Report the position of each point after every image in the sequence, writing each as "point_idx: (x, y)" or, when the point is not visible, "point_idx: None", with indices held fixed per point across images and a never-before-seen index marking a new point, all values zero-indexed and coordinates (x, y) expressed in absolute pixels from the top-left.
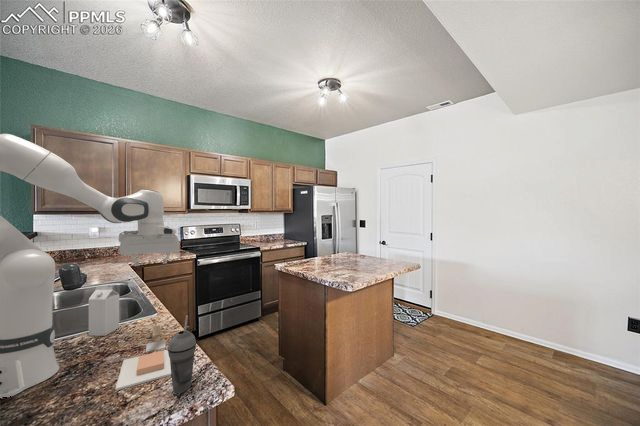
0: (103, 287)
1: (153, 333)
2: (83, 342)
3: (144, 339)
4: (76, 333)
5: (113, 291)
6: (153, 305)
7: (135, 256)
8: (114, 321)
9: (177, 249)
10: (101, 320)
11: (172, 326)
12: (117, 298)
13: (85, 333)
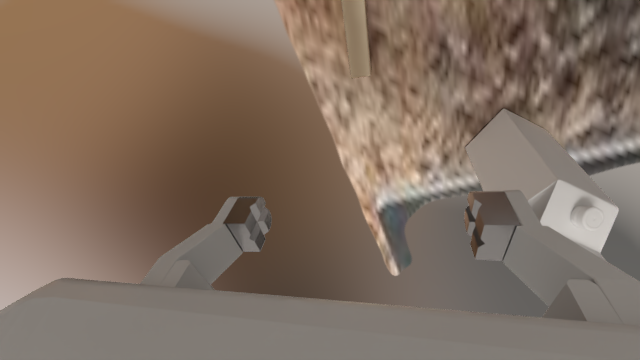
0: None
1: (361, 3)
2: (564, 85)
3: (392, 27)
4: None
5: None
6: (390, 252)
7: (548, 312)
8: (485, 149)
9: (24, 300)
10: (532, 136)
11: (325, 101)
12: None
13: None
